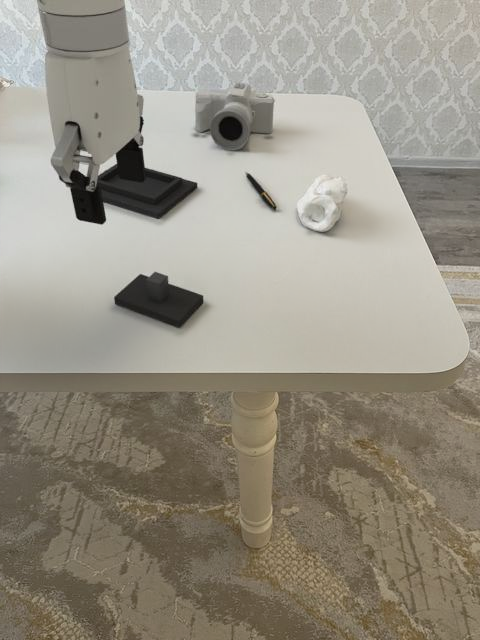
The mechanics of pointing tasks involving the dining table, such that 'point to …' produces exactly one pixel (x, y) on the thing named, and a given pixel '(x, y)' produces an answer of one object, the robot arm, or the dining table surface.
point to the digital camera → (233, 114)
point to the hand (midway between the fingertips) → (113, 199)
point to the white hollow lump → (322, 203)
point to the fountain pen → (261, 192)
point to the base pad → (144, 191)
